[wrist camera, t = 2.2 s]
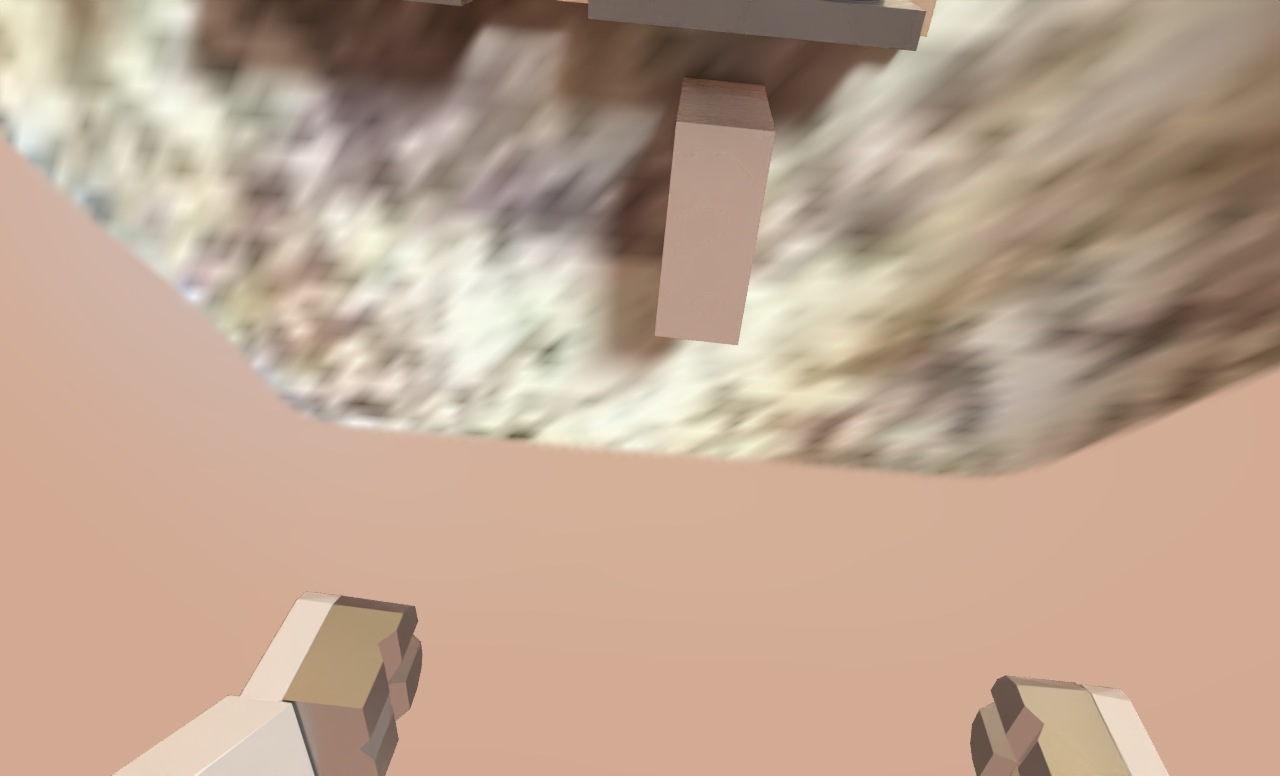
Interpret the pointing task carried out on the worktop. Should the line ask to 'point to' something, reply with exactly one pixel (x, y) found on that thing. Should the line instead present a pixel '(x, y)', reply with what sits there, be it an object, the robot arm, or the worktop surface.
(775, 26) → the metal roller rack
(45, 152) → the worktop surface
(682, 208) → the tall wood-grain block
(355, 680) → the robot arm
